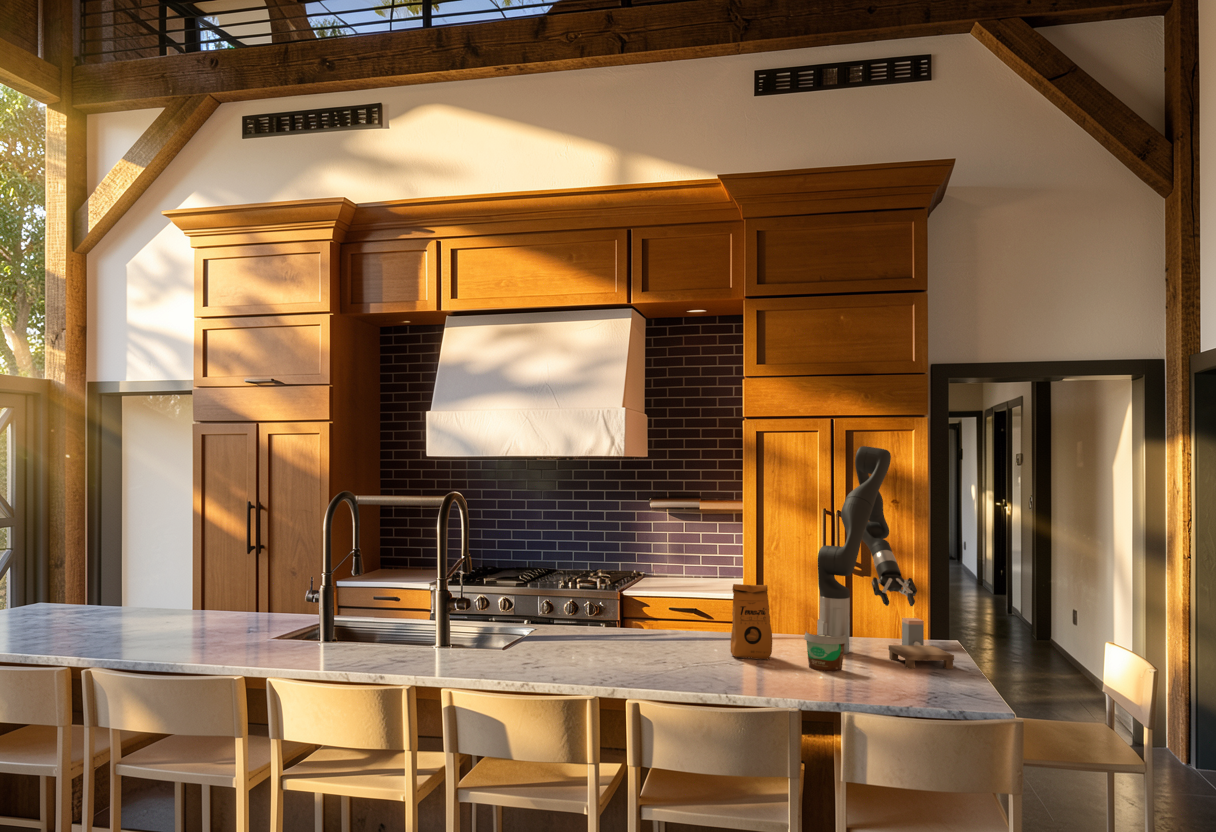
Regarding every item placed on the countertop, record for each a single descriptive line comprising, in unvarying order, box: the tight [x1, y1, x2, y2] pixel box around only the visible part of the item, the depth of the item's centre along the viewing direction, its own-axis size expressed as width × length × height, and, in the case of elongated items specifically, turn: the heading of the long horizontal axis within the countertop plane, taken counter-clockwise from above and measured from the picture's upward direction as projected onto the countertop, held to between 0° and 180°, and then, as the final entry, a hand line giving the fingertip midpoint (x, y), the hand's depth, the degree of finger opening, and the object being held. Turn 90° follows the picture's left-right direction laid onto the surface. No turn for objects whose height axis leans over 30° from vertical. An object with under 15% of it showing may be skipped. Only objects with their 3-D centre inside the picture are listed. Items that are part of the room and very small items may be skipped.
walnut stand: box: [888, 644, 955, 670], centre depth 258 cm, size 14×14×4 cm
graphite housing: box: [901, 617, 925, 646], centre depth 277 cm, size 5×6×10 cm
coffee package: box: [730, 583, 773, 660], centre depth 262 cm, size 10×12×22 cm
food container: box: [803, 630, 847, 673], centre depth 247 cm, size 12×6×10 cm, turn 62°
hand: (900, 604), depth 288 cm, fingers open, 8 cm apart
